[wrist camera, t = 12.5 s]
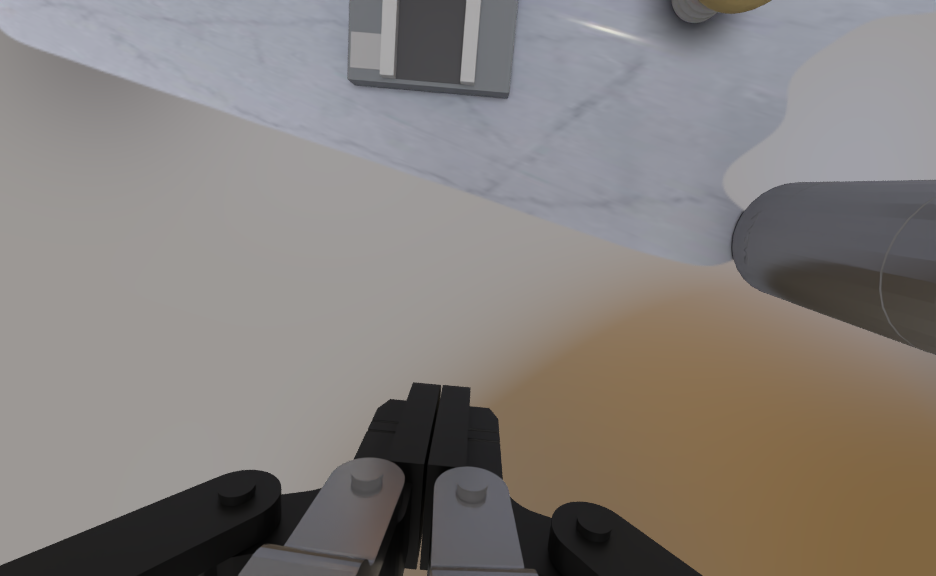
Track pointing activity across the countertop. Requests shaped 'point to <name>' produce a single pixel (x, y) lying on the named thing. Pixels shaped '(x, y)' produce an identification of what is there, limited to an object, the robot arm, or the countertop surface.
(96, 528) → the robot arm
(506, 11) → the switch panel
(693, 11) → the light bulb
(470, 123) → the countertop surface
